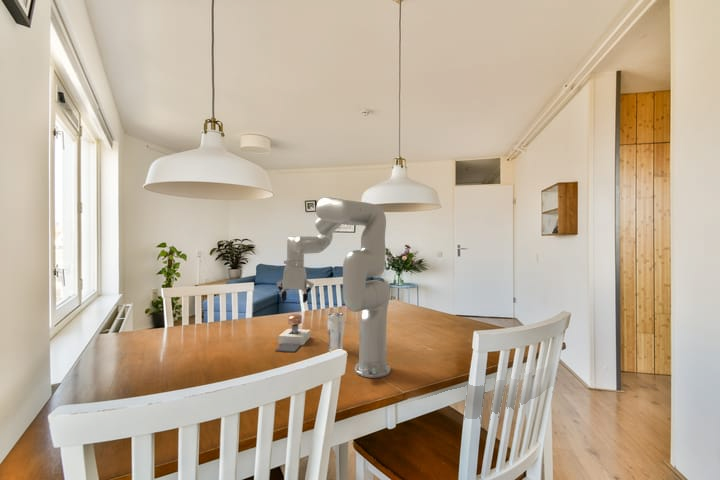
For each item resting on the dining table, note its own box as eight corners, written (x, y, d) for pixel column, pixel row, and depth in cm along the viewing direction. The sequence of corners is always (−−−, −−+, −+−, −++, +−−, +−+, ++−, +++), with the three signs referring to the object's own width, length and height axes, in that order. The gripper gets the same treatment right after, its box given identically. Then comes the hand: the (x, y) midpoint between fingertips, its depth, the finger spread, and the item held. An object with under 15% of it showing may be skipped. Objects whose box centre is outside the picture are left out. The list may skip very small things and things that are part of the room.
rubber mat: (294, 352, 126) (294, 351, 126) (275, 351, 127) (275, 350, 127) (300, 345, 134) (300, 344, 134) (283, 344, 135) (283, 343, 135)
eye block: (302, 345, 135) (302, 337, 135) (278, 343, 136) (278, 335, 136) (310, 337, 146) (310, 329, 146) (287, 336, 147) (287, 328, 147)
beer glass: (333, 346, 133) (333, 311, 133) (347, 349, 130) (347, 313, 130) (323, 351, 127) (324, 315, 127) (337, 354, 124) (338, 317, 124)
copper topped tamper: (299, 343, 138) (299, 318, 138) (286, 342, 138) (286, 317, 138) (303, 338, 144) (303, 314, 143) (290, 338, 144) (291, 314, 144)
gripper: (273, 263, 138) (273, 302, 139) (311, 265, 136) (310, 304, 136) (280, 262, 146) (279, 298, 146) (316, 263, 143) (315, 300, 144)
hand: (294, 301), depth 141 cm, fingers open, 9 cm apart
